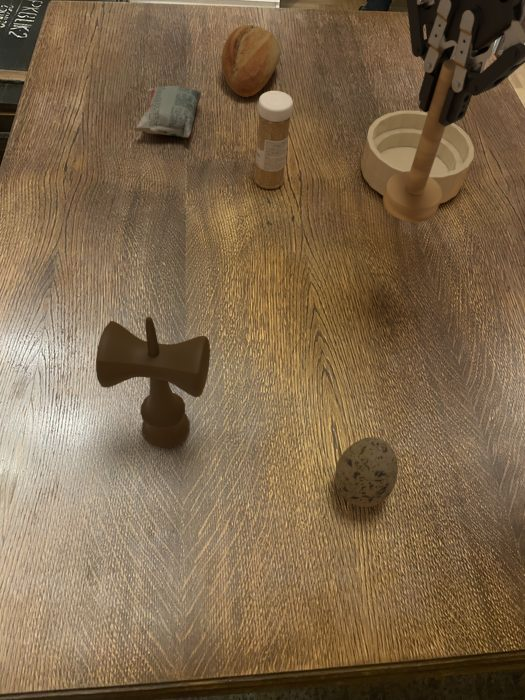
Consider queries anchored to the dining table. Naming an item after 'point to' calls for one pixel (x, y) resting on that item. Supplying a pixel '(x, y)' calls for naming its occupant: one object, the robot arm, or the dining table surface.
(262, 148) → the sprinkles bottle
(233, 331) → the dining table surface
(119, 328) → the kendama
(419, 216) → the wooden peg stand
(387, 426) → the dining table surface
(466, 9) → the robot arm
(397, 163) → the bowl
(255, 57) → the bread roll
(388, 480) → the decorative egg
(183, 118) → the packaged food
